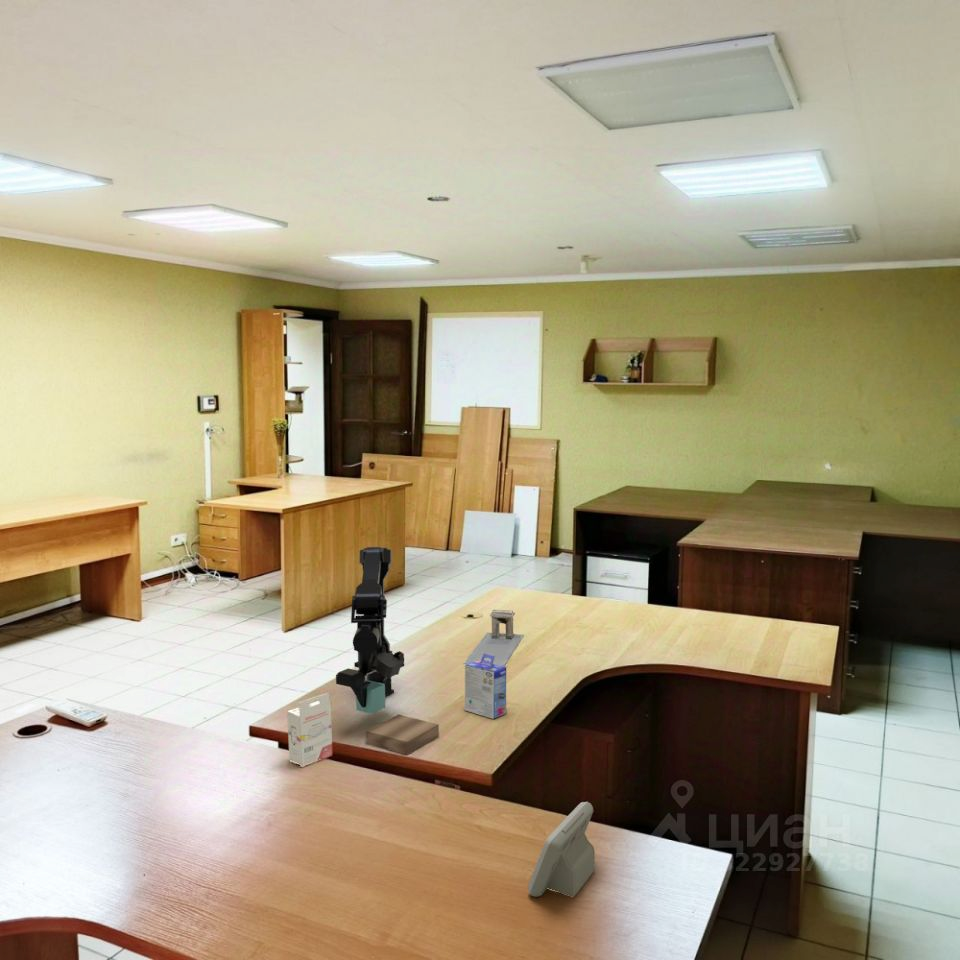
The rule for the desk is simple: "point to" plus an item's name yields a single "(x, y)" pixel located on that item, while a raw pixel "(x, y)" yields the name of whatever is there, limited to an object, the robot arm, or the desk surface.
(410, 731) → the walnut plinth
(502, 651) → the grey sheet with arch
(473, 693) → the ink cartridge box
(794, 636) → the desk surface
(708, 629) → the desk surface
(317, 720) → the ink cartridge box
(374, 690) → the teal block
